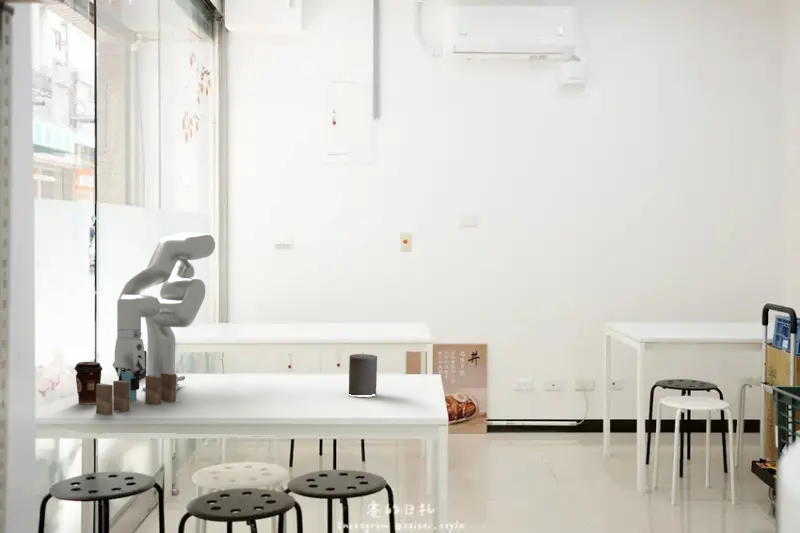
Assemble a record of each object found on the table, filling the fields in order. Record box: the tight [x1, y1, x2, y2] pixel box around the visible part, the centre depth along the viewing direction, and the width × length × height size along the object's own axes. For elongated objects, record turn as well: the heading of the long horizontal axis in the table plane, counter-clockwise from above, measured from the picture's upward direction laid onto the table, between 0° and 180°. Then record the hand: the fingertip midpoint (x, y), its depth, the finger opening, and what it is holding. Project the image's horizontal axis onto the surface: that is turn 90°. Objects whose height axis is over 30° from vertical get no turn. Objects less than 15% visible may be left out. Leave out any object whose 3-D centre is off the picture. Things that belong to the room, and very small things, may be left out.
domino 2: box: [121, 371, 138, 401], centre depth 296 cm, size 2×5×9 cm, turn 58°
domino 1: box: [112, 379, 130, 413], centre depth 277 cm, size 2×5×9 cm, turn 58°
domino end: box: [161, 373, 177, 403], centre depth 293 cm, size 2×5×9 cm, turn 58°
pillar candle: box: [348, 353, 378, 395], centre depth 308 cm, size 10×10×15 cm
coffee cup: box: [73, 361, 103, 405], centre depth 288 cm, size 9×8×13 cm
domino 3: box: [144, 374, 162, 406], centre depth 288 cm, size 2×5×9 cm, turn 58°
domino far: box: [95, 382, 114, 416], centre depth 271 cm, size 2×5×9 cm, turn 58°
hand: (128, 388), depth 296 cm, fingers closed on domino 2, 4 cm apart
